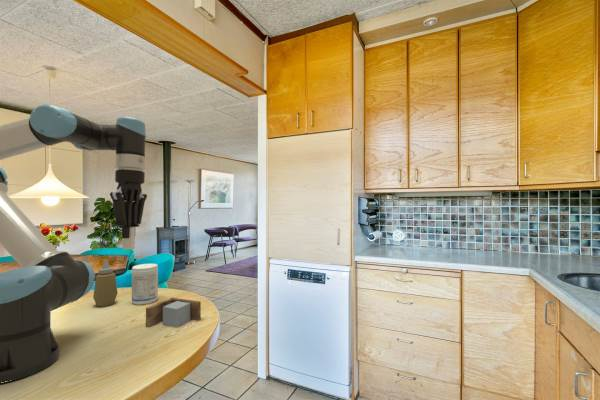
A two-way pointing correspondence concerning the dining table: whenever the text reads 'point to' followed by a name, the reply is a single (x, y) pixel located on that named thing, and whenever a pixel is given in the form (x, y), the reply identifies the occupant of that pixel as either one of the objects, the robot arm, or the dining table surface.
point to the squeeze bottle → (105, 286)
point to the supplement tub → (144, 283)
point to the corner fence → (156, 311)
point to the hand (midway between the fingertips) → (128, 248)
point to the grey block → (176, 314)
